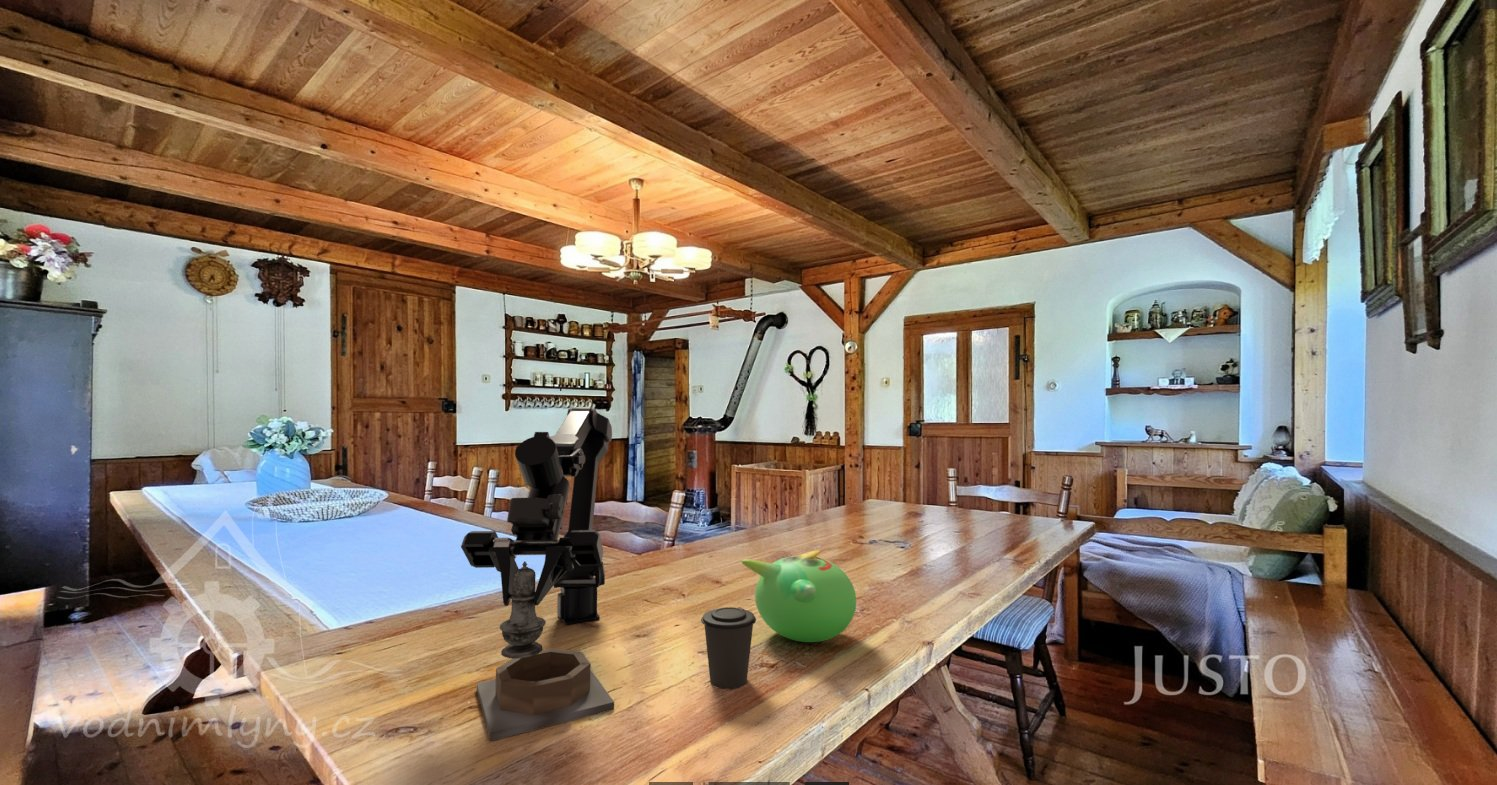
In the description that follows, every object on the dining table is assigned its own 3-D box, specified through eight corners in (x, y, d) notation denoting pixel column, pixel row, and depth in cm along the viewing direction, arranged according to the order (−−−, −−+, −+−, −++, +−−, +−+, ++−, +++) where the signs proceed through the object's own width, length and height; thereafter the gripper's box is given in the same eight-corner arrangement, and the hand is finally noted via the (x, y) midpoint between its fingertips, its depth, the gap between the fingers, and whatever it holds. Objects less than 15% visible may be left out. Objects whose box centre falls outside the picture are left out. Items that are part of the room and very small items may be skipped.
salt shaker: (543, 657, 78) (545, 565, 78) (495, 661, 77) (498, 568, 77) (546, 640, 84) (549, 555, 84) (502, 643, 82) (505, 557, 83)
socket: (584, 667, 90) (584, 637, 90) (614, 709, 77) (614, 674, 78) (476, 690, 83) (477, 657, 83) (490, 741, 70) (491, 702, 70)
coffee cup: (763, 673, 88) (763, 605, 89) (745, 697, 81) (745, 623, 81) (713, 665, 91) (713, 600, 91) (691, 688, 83) (691, 616, 84)
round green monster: (873, 638, 102) (873, 553, 103) (815, 668, 90) (815, 571, 91) (792, 614, 115) (792, 538, 115) (731, 638, 102) (732, 552, 103)
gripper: (467, 474, 84) (429, 574, 73) (600, 474, 85) (582, 572, 74) (487, 519, 92) (455, 616, 81) (609, 518, 93) (594, 613, 82)
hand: (520, 604), depth 79 cm, fingers closed on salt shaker, 4 cm apart
